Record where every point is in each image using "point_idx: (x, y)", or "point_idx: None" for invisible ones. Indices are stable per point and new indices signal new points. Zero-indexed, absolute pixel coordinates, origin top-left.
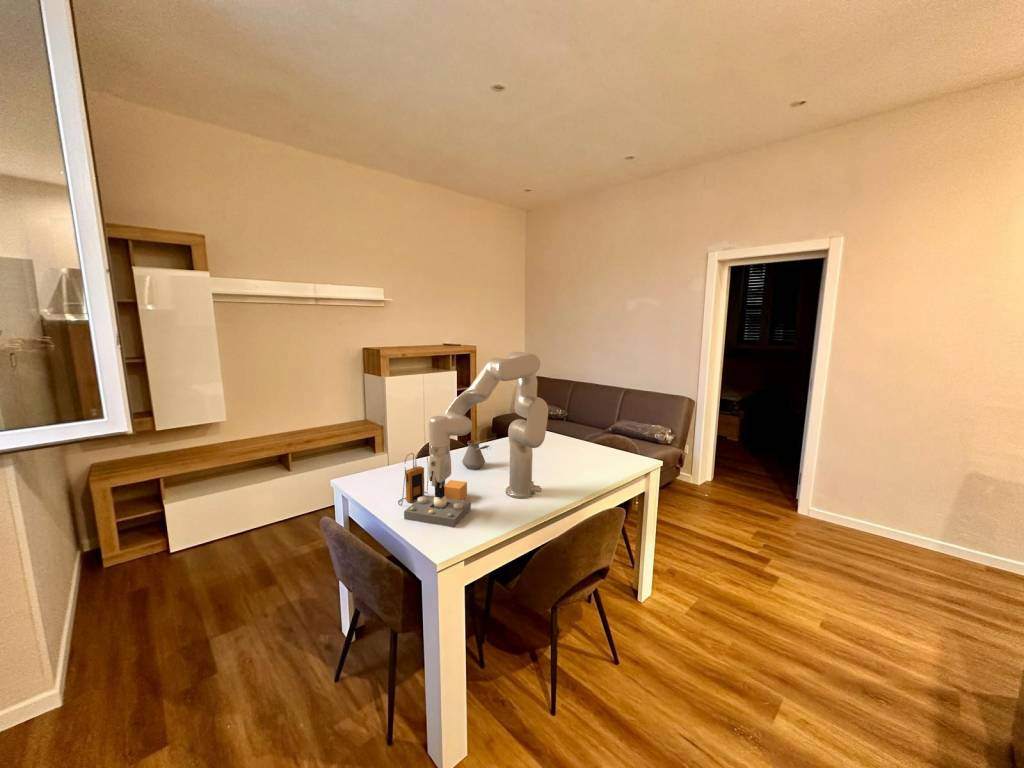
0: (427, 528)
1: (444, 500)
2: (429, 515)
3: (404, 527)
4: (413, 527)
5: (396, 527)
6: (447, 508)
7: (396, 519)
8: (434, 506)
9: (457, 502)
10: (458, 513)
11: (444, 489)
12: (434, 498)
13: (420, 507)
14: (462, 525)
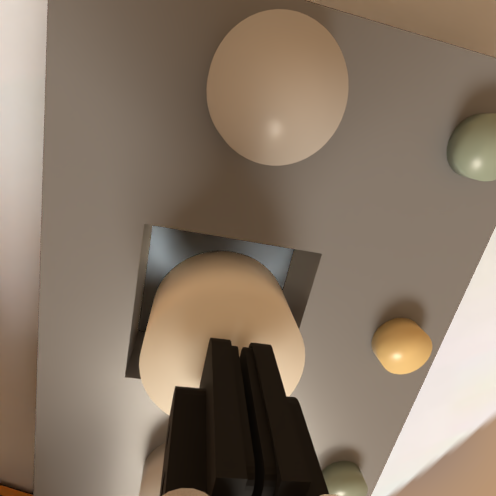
0: (475, 292)
1: (270, 298)
2: (441, 338)
3: (445, 420)
4: (451, 376)
5: (441, 455)
6: (301, 221)
7: None
8: None
9: (236, 117)
10: (427, 59)
11: (212, 415)
12: None
13: None
14: (462, 8)
